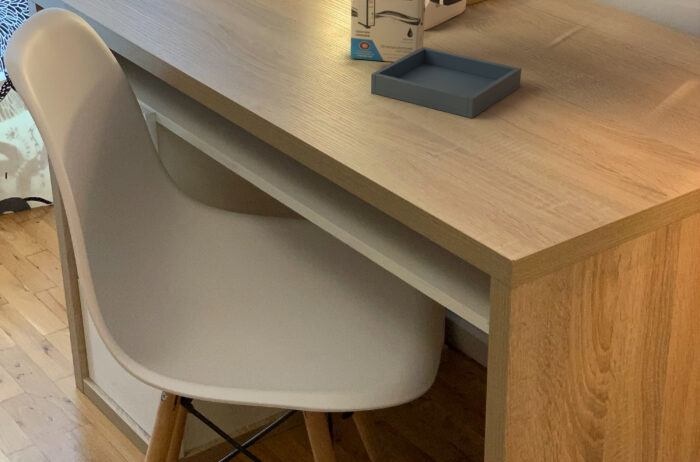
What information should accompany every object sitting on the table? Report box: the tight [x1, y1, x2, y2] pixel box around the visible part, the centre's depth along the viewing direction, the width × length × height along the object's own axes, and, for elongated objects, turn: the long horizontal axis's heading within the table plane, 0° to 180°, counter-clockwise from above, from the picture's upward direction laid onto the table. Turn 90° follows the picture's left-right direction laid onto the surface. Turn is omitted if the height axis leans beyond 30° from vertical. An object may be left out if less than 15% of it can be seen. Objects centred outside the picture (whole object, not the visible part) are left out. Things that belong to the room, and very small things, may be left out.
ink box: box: [350, 0, 425, 63], centre depth 130 cm, size 9×5×12 cm, turn 76°
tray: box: [370, 46, 522, 119], centre depth 122 cm, size 13×11×2 cm
